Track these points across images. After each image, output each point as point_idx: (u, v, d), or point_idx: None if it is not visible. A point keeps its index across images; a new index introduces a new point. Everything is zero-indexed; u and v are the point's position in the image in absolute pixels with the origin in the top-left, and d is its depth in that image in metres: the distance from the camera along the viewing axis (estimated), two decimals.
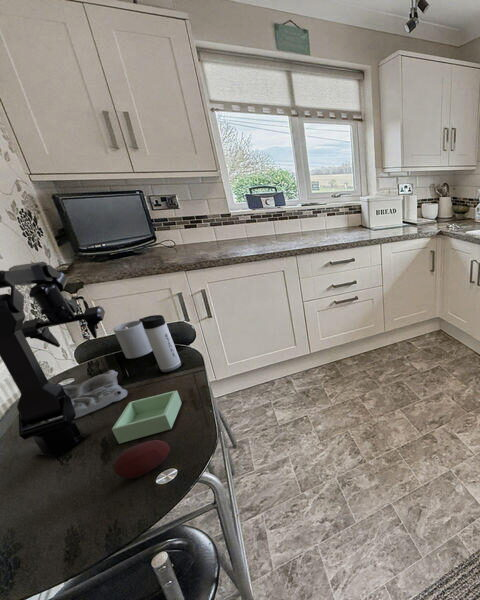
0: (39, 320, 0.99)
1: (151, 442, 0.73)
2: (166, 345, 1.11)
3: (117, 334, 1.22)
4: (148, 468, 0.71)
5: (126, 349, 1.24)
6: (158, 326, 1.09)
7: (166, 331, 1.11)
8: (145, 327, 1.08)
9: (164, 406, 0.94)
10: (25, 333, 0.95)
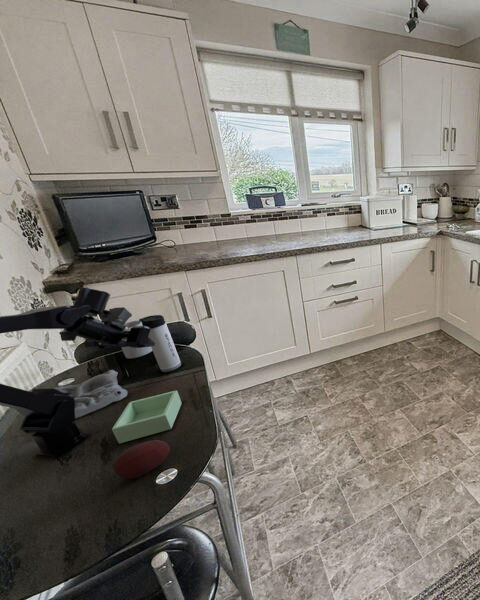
0: None
1: (151, 442, 0.73)
2: (166, 345, 1.11)
3: None
4: (148, 468, 0.71)
5: (126, 349, 1.24)
6: (158, 326, 1.09)
7: (166, 331, 1.11)
8: None
9: (164, 406, 0.94)
10: (89, 347, 0.97)
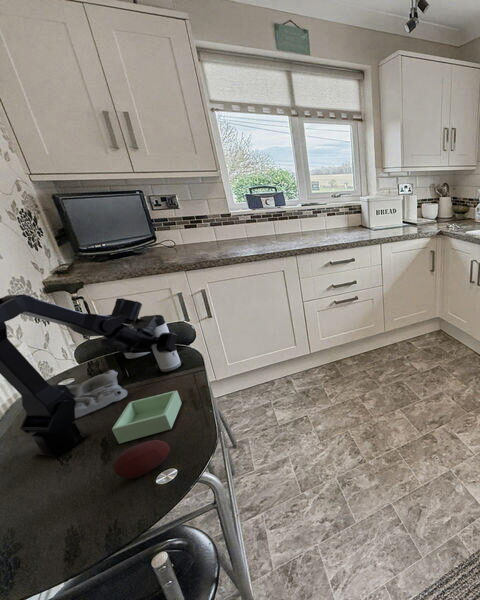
0: None
1: (151, 442, 0.73)
2: None
3: None
4: (148, 468, 0.71)
5: None
6: (158, 326, 1.09)
7: (166, 331, 1.11)
8: None
9: (164, 406, 0.94)
10: (122, 351, 1.07)
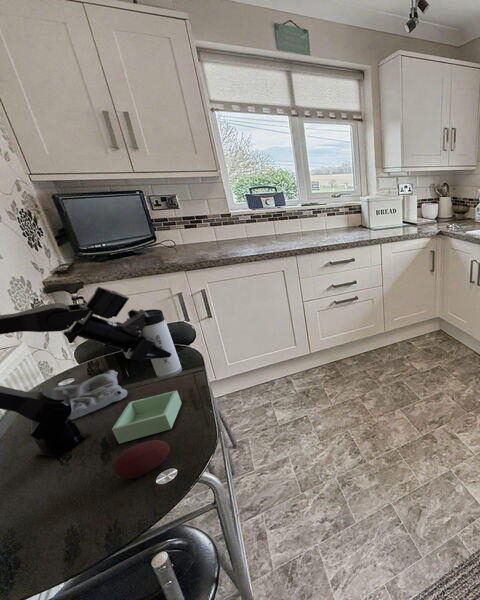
0: None
1: (151, 442, 0.73)
2: None
3: None
4: (148, 468, 0.71)
5: None
6: (148, 325, 0.89)
7: (158, 332, 0.91)
8: None
9: (164, 406, 0.94)
10: None
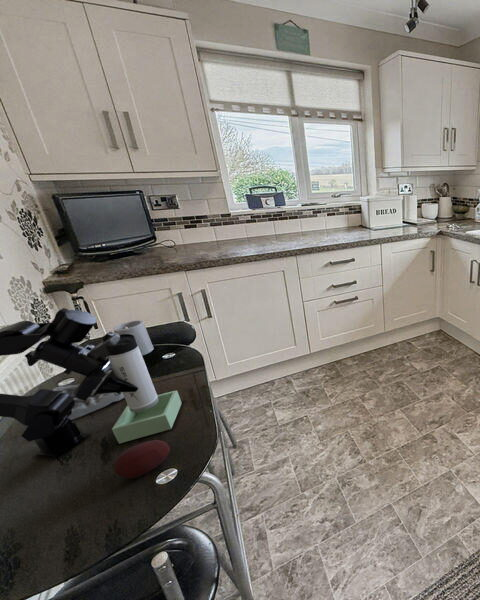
0: None
1: (151, 442, 0.73)
2: None
3: None
4: (148, 468, 0.71)
5: None
6: (111, 355, 0.78)
7: (123, 364, 0.79)
8: None
9: (164, 406, 0.94)
10: None
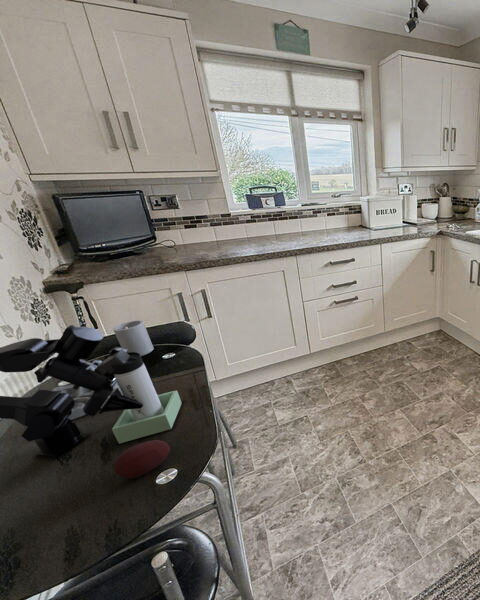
0: None
1: (151, 442, 0.73)
2: None
3: (117, 334, 1.22)
4: (148, 468, 0.71)
5: None
6: (117, 374, 0.80)
7: (129, 382, 0.81)
8: None
9: (164, 406, 0.94)
10: None
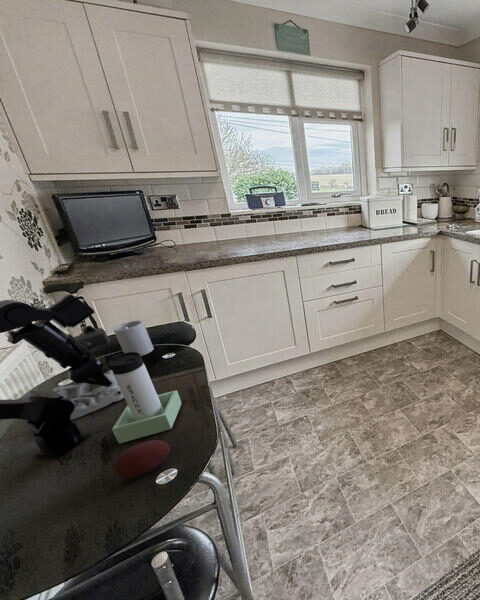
0: None
1: (151, 442, 0.73)
2: (128, 398, 0.82)
3: (117, 334, 1.22)
4: (148, 468, 0.71)
5: (126, 349, 1.24)
6: (117, 374, 0.80)
7: (129, 382, 0.81)
8: None
9: (164, 406, 0.94)
10: None
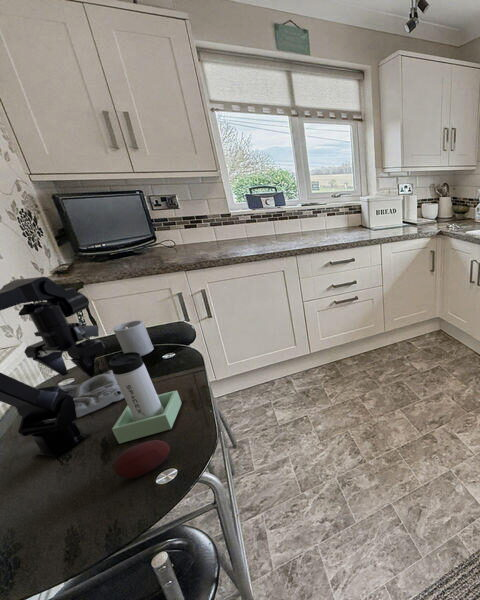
0: None
1: (151, 442, 0.73)
2: (128, 398, 0.82)
3: (117, 334, 1.22)
4: (148, 468, 0.71)
5: (126, 349, 1.24)
6: (117, 374, 0.80)
7: (130, 382, 0.81)
8: None
9: (164, 406, 0.94)
10: (27, 353, 0.86)
